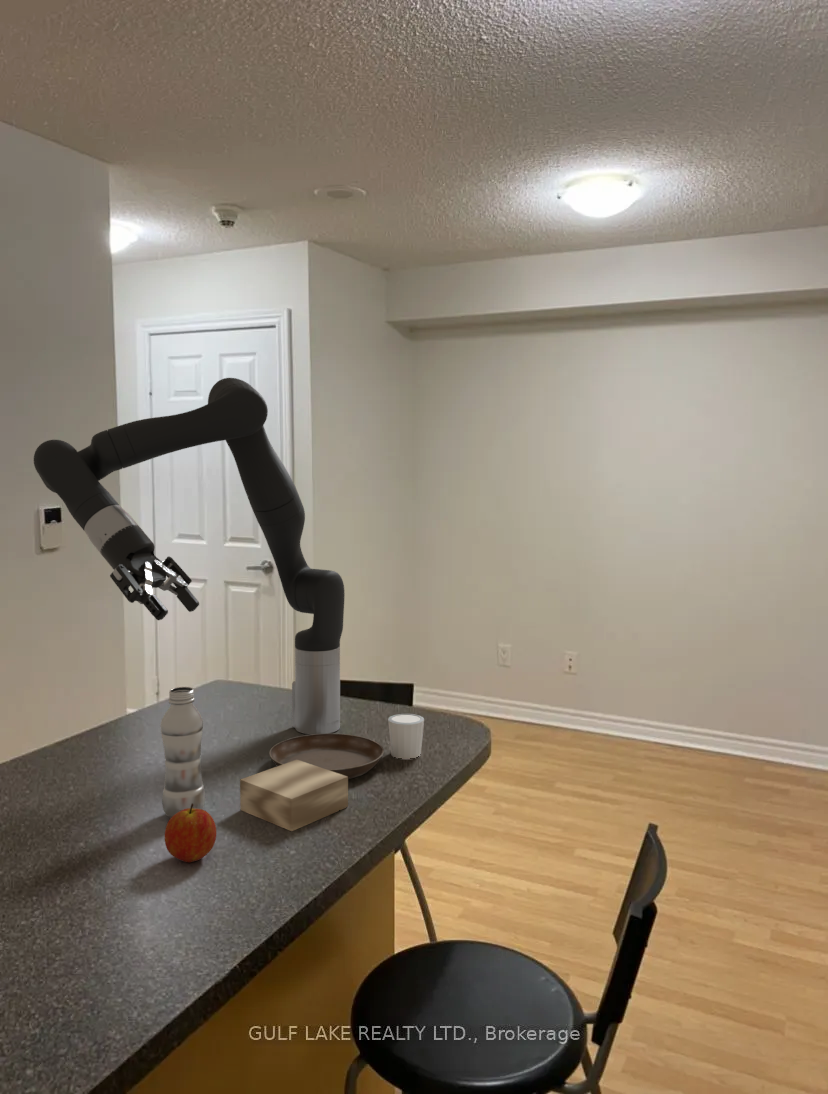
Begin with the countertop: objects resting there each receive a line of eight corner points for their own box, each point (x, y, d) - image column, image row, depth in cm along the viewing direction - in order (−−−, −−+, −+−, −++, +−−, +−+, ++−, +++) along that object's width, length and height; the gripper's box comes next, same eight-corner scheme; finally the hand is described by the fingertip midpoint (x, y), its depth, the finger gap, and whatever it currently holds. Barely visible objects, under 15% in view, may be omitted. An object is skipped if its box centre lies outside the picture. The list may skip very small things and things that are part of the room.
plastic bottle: (214, 810, 134) (212, 686, 132) (189, 827, 127) (186, 697, 125) (179, 804, 136) (176, 682, 134) (153, 821, 129) (150, 693, 127)
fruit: (154, 865, 115) (152, 809, 114) (184, 844, 121) (183, 790, 121) (197, 874, 113) (196, 816, 112) (226, 852, 119) (225, 797, 118)
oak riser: (240, 810, 134) (240, 779, 133) (296, 788, 143) (296, 759, 142) (291, 831, 126) (291, 799, 125) (347, 806, 135) (347, 776, 135)
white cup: (425, 749, 163) (425, 713, 162) (422, 761, 156) (422, 724, 156) (390, 747, 164) (390, 712, 163) (385, 759, 157) (385, 723, 156)
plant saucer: (322, 741, 168) (322, 725, 168) (406, 762, 156) (406, 745, 156) (245, 771, 151) (245, 753, 151) (332, 798, 139) (332, 778, 139)
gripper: (102, 526, 131) (166, 603, 128) (159, 520, 144) (218, 591, 142) (76, 558, 133) (138, 635, 130) (134, 550, 147) (191, 620, 144)
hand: (180, 612), depth 136 cm, fingers open, 8 cm apart
